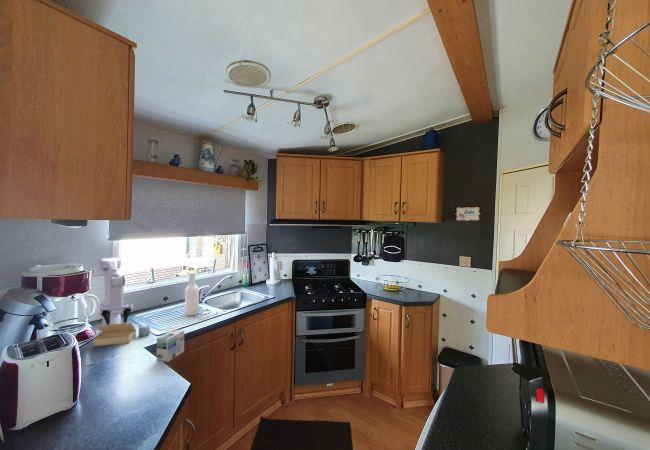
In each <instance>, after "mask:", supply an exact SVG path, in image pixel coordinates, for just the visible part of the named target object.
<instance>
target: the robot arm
mask: <svg viewBox="0 0 650 450" xmlns="http://www.w3.org/2000/svg"><path fill="white" fill-rule="evenodd" d="M121 260H122V259H121V257H120V256H117V257H116V256H115V257H105V258H104V257H103V258H101V257H100V258H99V259H98V271H99V273H102V274H103V275H104V291H105V295H104V296H105V297H104V298H105V300H103V301H102V302H101V303H100V304H99V310H98V313H99V314H98V315H99V317H100V318H102V325H109V324H122V315H121V313H122V314H123V323H128V318H129V315H130V314H131V312H132V309H134V304H124V303H125V302H124V301H125V300H124V299H125V298H124V295H125V294H124V290H125V289H124V286H125V284H126V278H125V275H123V274H122V272H121V270H120V268H121V266H122V265H121V264H122V263H121V262H122V261H121Z"/></svg>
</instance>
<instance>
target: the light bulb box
mask: <svg viewBox="0 0 650 450" xmlns="http://www.w3.org/2000/svg"><path fill="white" fill-rule="evenodd" d="M184 352H185V330H181V329H180V330H179V329H172V330H170V331H168V332H166V333H164V334H162V335H160V336H159V337H156V361H159V360H160V362H167V363H168V362H170V361H171V360H173V359H175V358H176V357H178V356H180V355H181V354H182V353H184Z"/></svg>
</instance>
